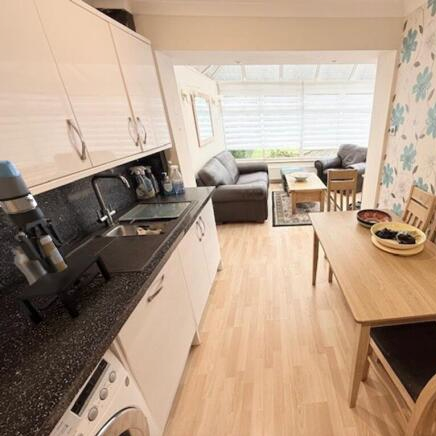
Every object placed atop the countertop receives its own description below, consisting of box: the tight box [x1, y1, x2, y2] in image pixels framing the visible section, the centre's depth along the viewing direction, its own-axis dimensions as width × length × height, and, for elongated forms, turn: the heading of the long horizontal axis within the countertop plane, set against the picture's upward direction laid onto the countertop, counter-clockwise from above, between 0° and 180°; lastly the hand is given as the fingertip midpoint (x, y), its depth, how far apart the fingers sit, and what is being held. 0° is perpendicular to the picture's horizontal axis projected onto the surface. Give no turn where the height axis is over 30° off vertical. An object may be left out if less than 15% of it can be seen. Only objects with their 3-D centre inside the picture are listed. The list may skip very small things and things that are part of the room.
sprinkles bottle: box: [40, 235, 67, 272], centre depth 84 cm, size 5×5×14 cm
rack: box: [14, 254, 112, 325], centre depth 91 cm, size 14×22×12 cm, turn 8°
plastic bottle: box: [11, 245, 47, 286], centre depth 96 cm, size 6×7×20 cm
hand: (58, 267), depth 87 cm, fingers closed on sprinkles bottle, 4 cm apart
